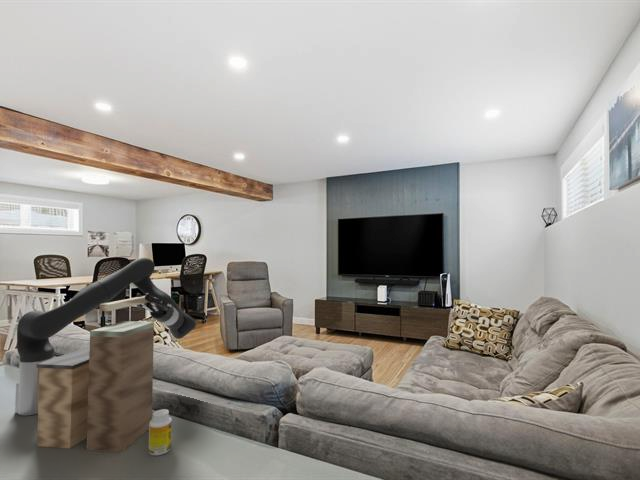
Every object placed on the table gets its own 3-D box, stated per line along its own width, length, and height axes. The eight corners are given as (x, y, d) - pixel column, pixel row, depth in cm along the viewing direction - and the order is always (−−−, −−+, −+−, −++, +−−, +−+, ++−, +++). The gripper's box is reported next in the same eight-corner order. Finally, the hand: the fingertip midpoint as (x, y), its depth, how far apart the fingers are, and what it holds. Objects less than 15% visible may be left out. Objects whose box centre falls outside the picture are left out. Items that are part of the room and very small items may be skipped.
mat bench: (33, 446, 96) (36, 364, 97) (82, 418, 113) (84, 347, 114) (70, 449, 95) (72, 365, 96) (113, 420, 112) (115, 348, 113)
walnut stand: (86, 449, 95) (90, 330, 96) (121, 424, 109) (124, 321, 110) (120, 452, 94) (123, 331, 95) (151, 426, 108) (154, 321, 109)
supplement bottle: (171, 453, 93) (172, 414, 94) (148, 458, 91) (149, 418, 91) (170, 443, 98) (171, 406, 99) (148, 448, 96) (149, 410, 96)
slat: (99, 310, 107) (99, 304, 107) (144, 301, 128) (144, 295, 128) (108, 311, 106) (108, 304, 106) (152, 301, 128) (152, 295, 128)
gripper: (151, 304, 142) (127, 285, 127) (184, 304, 140) (163, 286, 125) (145, 321, 138) (119, 305, 123) (178, 323, 136) (156, 306, 121)
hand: (141, 295), depth 124 cm, fingers closed on slat, 3 cm apart
